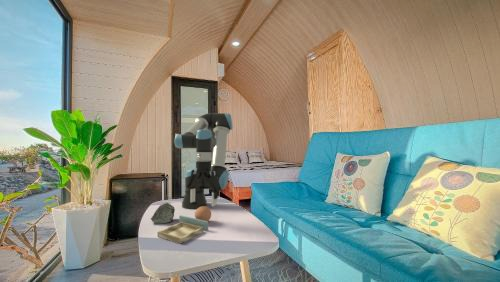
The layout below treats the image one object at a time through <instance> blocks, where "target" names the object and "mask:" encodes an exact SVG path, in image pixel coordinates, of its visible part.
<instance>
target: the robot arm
mask: <svg viewBox="0 0 500 282" xmlns="http://www.w3.org/2000/svg"><path fill="white" fill-rule="evenodd" d="M232 130H233V119H232V115H231V114H230V113H226V112H223V113H222V112H219V113H218V112H217V113H216V112H211V113H210V112H209V113H204V114H202V115H201V116H198V117H197V118H196V119H195V121H194V123H193V124H192V125H191V126H190V127H189V128H188V129H187V130H186V131H185V132H184V133H183V134H181V133H180V134H176V135H175V137H174V147H175V148H177V149H196V150H195V152H196V153H195V160H196V161H195V168H191V169H187V170H186V171H185V173H184V174H185V175H184V176H185V177H184V195H183V199H182V202H181V208H184V209H188V210H189V209H190V210H192V209H193V210H195V209H196V210H197V209H198V208H199V207H201V206H206V207H207V205H208V202H207V198H206V195H205V190H212V191H211V207H214V206H217V202H218V201H217V199H218V198H219V192H220V191H222V190H225V189H226V188H227V186H228V182H229V175H230V174H229V173H230V172H229V171H228V169H227V167H226V165H225V163H226V153H227V143H228V142H227V141H228V134H230V132H231V131H232ZM212 131H213V133H214V135H213V133H212Z"/></svg>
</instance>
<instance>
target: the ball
mask: <svg viewBox="0 0 500 282" xmlns="http://www.w3.org/2000/svg"><path fill="white" fill-rule="evenodd" d="M211 217H212V211H211V208H209V206H207V205H206V206H201V207H199V208H197V209H196V210H195V213H194V218H195V219H199V220H204V221H208V222H209V221H210V219H211Z"/></svg>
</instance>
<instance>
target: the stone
mask: <svg viewBox="0 0 500 282" xmlns="http://www.w3.org/2000/svg"><path fill="white" fill-rule="evenodd" d="M175 209H176V208H175V207H174V206H173V205H172V204H171V203H170V202H165V203H162V204H160V205H159V206H158V207H157V208H156V210H155V211H154V213H153V215H152V216H151V218H150V220H151V222H152V223H153V224H167V223H171V222H172V220H173V219H174V216H175V211H176V210H175Z"/></svg>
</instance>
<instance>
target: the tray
mask: <svg viewBox="0 0 500 282" xmlns="http://www.w3.org/2000/svg"><path fill="white" fill-rule="evenodd" d="M203 228H204V227H200V226H196V225H192V224H188V223H184V222H180V223H179V222H178V223H175V224H173V225H171V226H168V227H166V228H164V229H162V230H159V231H157V237H158V238H160V237H161V239H163V238H165V239H164V240H166V239H168V240H167V241H170V240H171V242H173V241H174V243H176V242H177V243H176V244H179V243H180V245H182V244H184V243H185V242H188V241H189V240H191V239H193V238H195V237H197V236H199V235H200V234H203V233H204V230H203ZM183 242H184V243H183ZM181 243H182V244H181Z"/></svg>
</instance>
